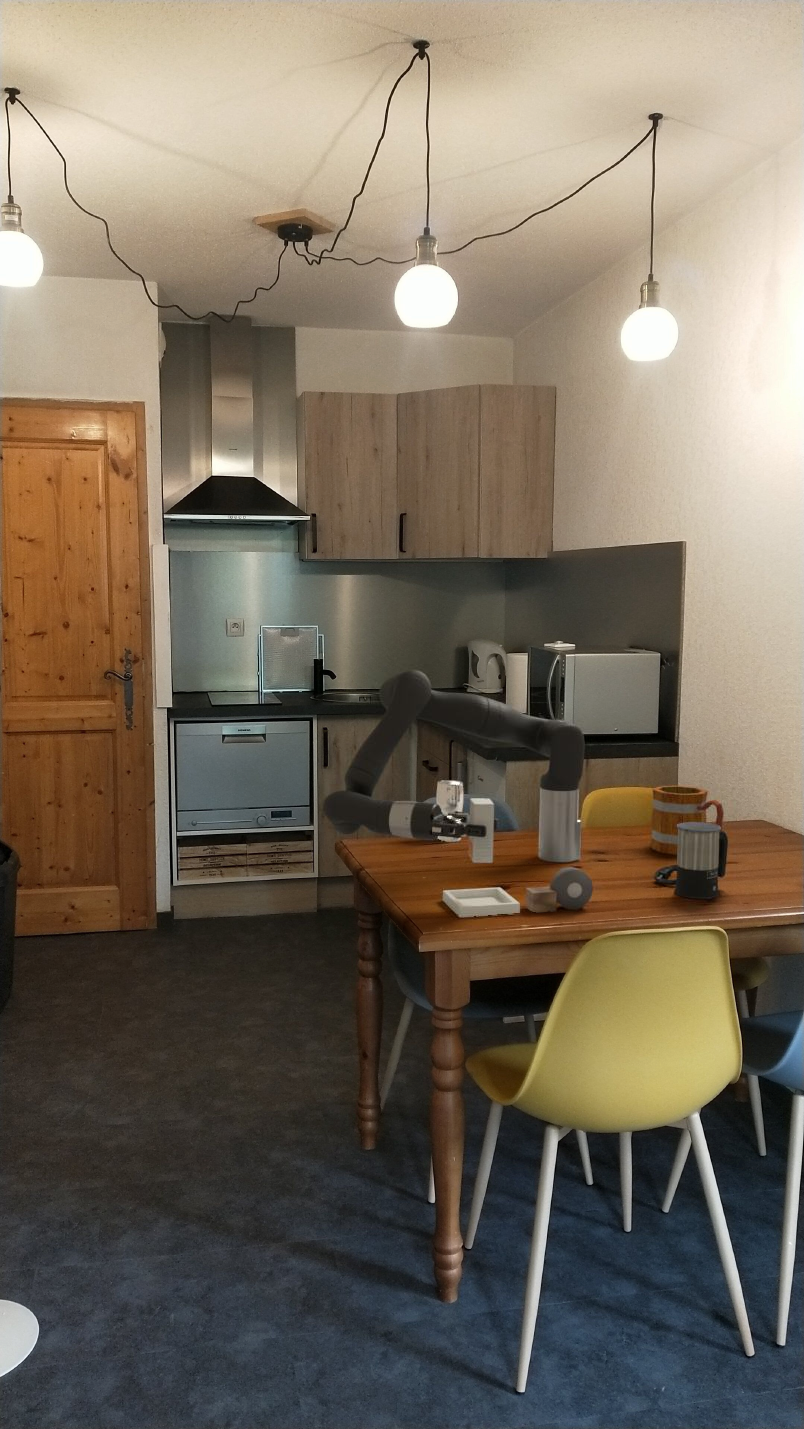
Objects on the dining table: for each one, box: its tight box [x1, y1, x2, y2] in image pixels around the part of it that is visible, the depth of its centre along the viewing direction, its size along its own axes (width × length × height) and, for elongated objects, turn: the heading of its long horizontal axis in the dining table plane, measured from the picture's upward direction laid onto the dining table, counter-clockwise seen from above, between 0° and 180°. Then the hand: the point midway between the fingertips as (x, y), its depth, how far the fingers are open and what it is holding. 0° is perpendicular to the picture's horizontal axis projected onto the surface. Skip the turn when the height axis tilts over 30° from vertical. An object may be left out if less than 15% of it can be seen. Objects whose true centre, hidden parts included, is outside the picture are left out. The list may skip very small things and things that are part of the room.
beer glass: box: [435, 779, 464, 843], centre depth 284 cm, size 7×7×15 cm
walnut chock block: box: [525, 886, 557, 913], centre depth 222 cm, size 5×4×4 cm
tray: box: [442, 886, 521, 918], centre depth 223 cm, size 12×12×2 cm
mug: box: [650, 785, 724, 855], centre depth 273 cm, size 20×14×15 cm
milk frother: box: [653, 822, 729, 900], centre depth 237 cm, size 14×16×15 cm
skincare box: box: [468, 797, 495, 864], centre depth 221 cm, size 6×4×12 cm
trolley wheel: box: [549, 866, 594, 910], centre depth 223 cm, size 8×4×8 cm, turn 104°
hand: (491, 828), depth 220 cm, fingers closed on skincare box, 7 cm apart
